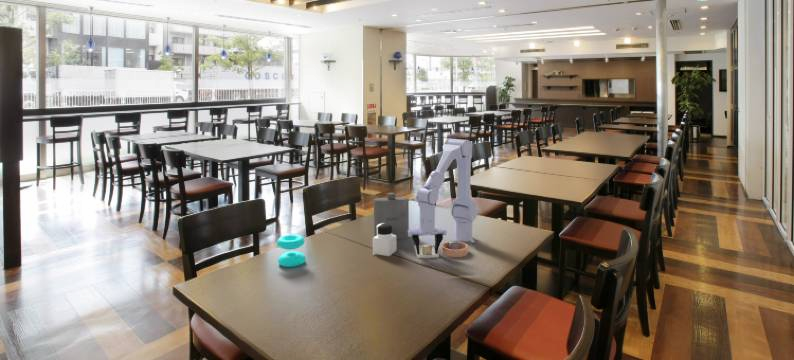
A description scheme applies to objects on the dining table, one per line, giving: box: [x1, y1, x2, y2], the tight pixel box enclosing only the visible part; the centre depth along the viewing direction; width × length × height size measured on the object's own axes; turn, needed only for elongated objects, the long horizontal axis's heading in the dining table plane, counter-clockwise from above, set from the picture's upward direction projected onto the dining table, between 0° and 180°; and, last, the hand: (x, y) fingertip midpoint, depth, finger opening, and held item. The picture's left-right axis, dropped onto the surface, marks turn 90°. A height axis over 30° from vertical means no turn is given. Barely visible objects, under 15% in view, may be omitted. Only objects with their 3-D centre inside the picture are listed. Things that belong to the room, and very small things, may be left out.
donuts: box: [276, 233, 307, 268], centre depth 171 cm, size 10×10×10 cm
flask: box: [373, 192, 410, 240], centre depth 197 cm, size 15×6×20 cm, turn 99°
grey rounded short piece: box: [448, 240, 459, 250], centre depth 181 cm, size 4×4×4 cm
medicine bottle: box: [372, 223, 397, 257], centre depth 180 cm, size 7×7×12 cm
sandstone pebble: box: [422, 243, 432, 255], centre depth 177 cm, size 4×4×4 cm
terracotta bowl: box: [440, 241, 469, 258], centre depth 179 cm, size 10×10×4 cm
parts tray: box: [413, 243, 440, 259], centre depth 180 cm, size 12×8×2 cm, turn 5°
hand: (427, 253), depth 177 cm, fingers open, 6 cm apart
